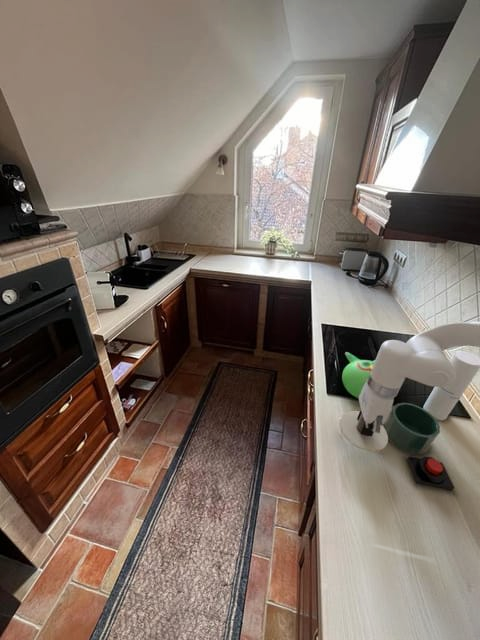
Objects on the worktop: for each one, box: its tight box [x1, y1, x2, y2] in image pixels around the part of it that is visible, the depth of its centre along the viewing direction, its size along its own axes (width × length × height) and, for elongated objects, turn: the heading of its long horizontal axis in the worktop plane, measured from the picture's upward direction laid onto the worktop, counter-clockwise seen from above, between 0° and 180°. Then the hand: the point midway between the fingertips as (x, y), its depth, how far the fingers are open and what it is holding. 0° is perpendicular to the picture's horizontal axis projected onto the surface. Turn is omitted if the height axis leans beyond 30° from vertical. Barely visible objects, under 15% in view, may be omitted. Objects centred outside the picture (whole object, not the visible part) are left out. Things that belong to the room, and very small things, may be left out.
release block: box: [406, 455, 455, 492], centre depth 71 cm, size 9×7×4 cm
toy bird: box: [341, 351, 376, 400], centre depth 95 cm, size 18×17×15 cm
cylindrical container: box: [422, 350, 480, 421], centre depth 85 cm, size 7×7×25 cm
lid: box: [338, 410, 389, 453], centre depth 76 cm, size 14×14×7 cm
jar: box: [383, 402, 441, 455], centre depth 81 cm, size 13×13×8 cm
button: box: [425, 458, 443, 475], centre depth 70 cm, size 4×4×2 cm
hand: (364, 427), depth 76 cm, fingers closed on lid, 4 cm apart
